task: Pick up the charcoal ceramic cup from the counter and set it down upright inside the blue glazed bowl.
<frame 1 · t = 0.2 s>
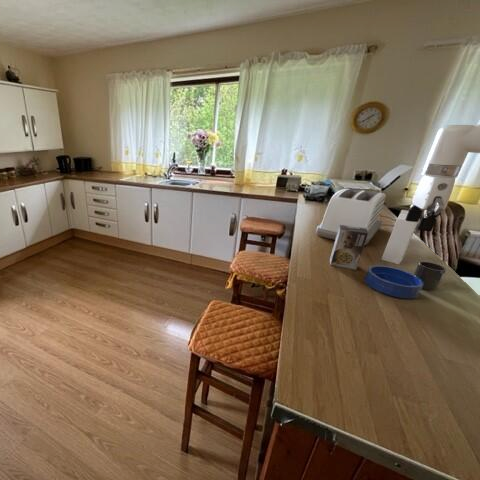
hand: (417, 225, 81), 23 cm above the worktop, tool pointing down, fingers open, 9 cm apart
bowl: (389, 287, 91), on the worktop
coffee box: (342, 264, 107), on the worktop
milk: (391, 260, 111), on the worktop
toaster: (348, 231, 143), on the worktop
cup: (422, 285, 92), on the worktop
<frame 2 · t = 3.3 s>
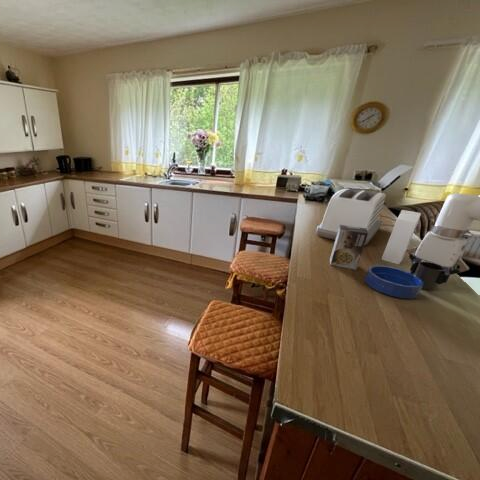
hand: (426, 277, 91), 3 cm above the worktop, tool pointing down, fingers closed on cup, 6 cm apart
cup: (422, 285, 92), on the worktop, touching gripper
everything else where it was.
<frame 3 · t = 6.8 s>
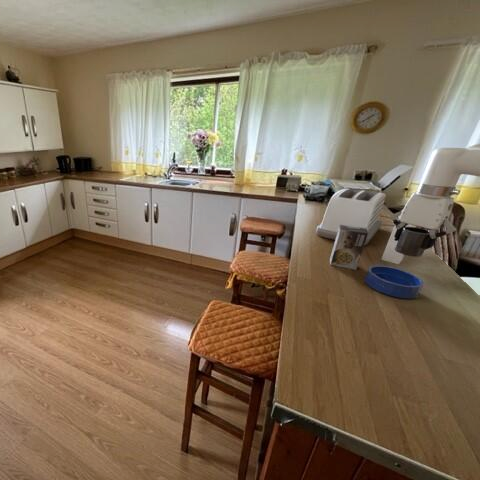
hand: (411, 243, 84), 17 cm above the worktop, tool pointing down, fingers closed on cup, 6 cm apart
cup: (407, 252, 85), point 14 cm above the worktop, touching gripper
everything else where it was.
when the fingers open (4 cm above the worktop, at t = 10.4 s): cup stays where it is, resting on bowl.
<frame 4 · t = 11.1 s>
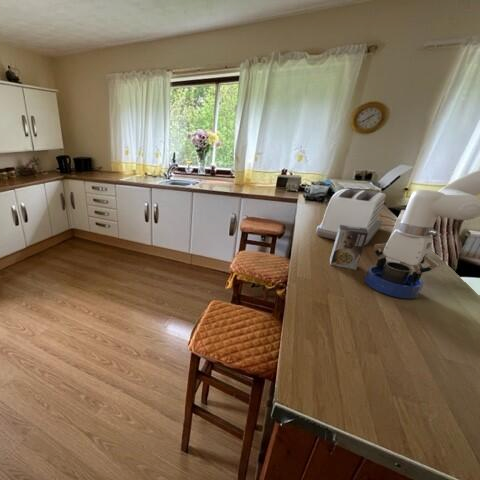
hand: (395, 275, 89), 5 cm above the worktop, tool pointing down, fingers open, 9 cm apart
cup: (390, 286, 90), point 1 cm above the worktop, touching bowl
everything else where it was.
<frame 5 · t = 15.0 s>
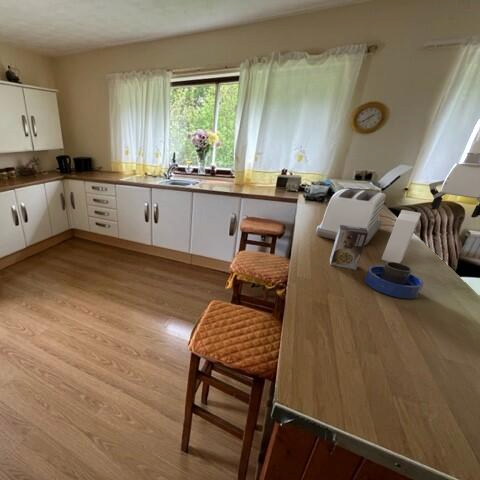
hand: (453, 212, 85), 26 cm above the worktop, tool pointing down, fingers open, 9 cm apart
nothing on the worktop moved.
at the end: cup 0.0 cm off-centre in the bowl, point 0.6 cm above the bowl's base; cup tilted 0°; the gripper is holding nothing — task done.
